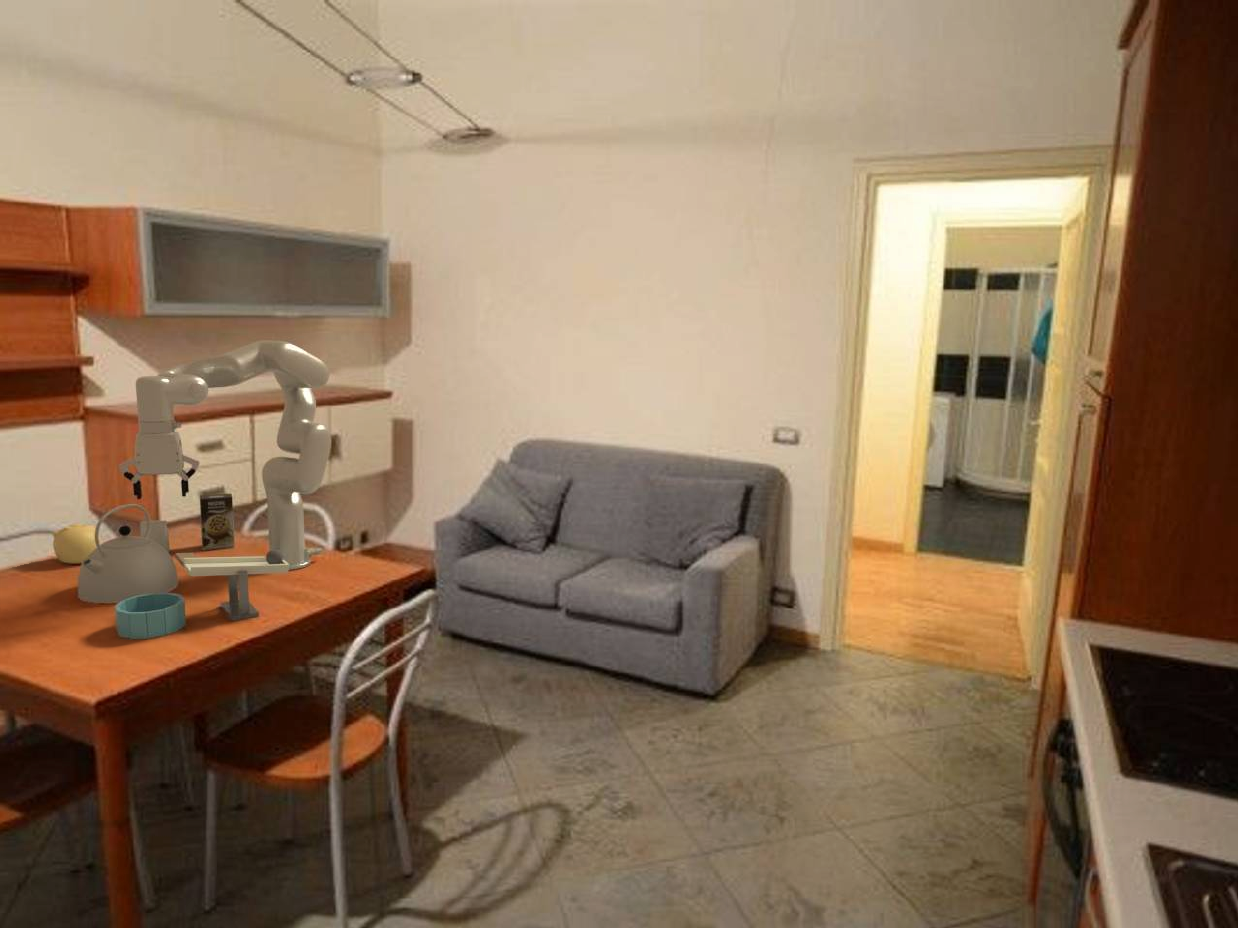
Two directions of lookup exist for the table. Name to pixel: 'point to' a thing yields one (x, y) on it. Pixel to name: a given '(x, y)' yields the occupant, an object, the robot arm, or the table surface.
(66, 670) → the table surface
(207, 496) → the dark cardboard box
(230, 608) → the lever stand
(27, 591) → the table surface
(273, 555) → the ball
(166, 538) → the tea bag
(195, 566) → the lever
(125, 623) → the teal round bowl
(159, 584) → the kettle
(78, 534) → the yellow rounded piece
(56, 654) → the table surface
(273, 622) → the table surface
